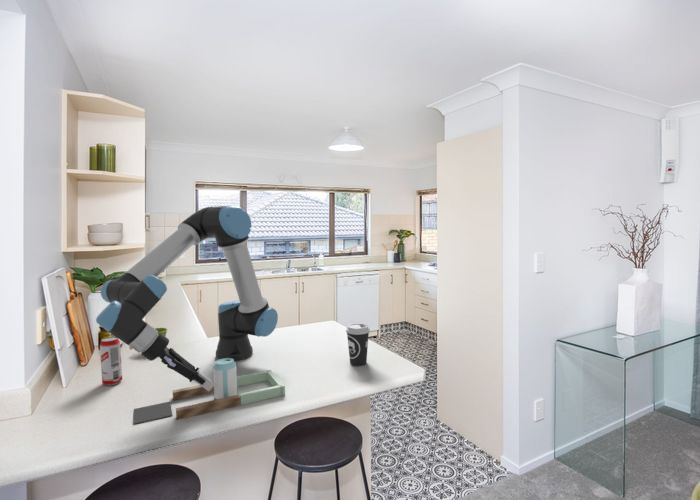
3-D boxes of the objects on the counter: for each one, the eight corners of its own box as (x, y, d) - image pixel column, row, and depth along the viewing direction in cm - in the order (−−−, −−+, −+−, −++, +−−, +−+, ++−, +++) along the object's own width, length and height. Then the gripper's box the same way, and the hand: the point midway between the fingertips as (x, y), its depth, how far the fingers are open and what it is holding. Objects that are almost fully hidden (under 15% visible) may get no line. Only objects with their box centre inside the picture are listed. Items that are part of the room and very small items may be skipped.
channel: (176, 419, 113) (176, 411, 113) (172, 397, 127) (172, 390, 127) (240, 405, 122) (239, 397, 122) (229, 386, 136) (229, 379, 136)
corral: (240, 404, 122) (240, 395, 122) (230, 386, 136) (230, 377, 136) (285, 394, 128) (284, 385, 128) (270, 377, 143) (270, 369, 142)
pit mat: (133, 424, 111) (133, 423, 111) (134, 409, 120) (134, 408, 120) (172, 415, 116) (172, 414, 116) (170, 402, 124) (170, 401, 124)
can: (215, 393, 130) (213, 358, 129) (237, 391, 132) (236, 356, 131) (213, 403, 123) (212, 365, 122) (237, 400, 125) (235, 363, 124)
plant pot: (148, 354, 170) (147, 334, 170) (142, 349, 177) (141, 330, 177) (171, 349, 176) (170, 330, 176) (164, 344, 184) (163, 326, 183)
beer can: (107, 387, 136) (105, 342, 135) (98, 384, 139) (95, 339, 138) (126, 381, 141) (123, 337, 140) (116, 378, 145) (114, 335, 144)
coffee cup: (368, 368, 150) (367, 329, 149) (343, 366, 152) (343, 328, 151) (371, 359, 160) (371, 323, 159) (348, 358, 162) (348, 322, 161)
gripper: (140, 346, 120) (200, 389, 128) (139, 360, 108) (205, 405, 117) (158, 327, 122) (216, 370, 130) (160, 338, 110) (223, 384, 119)
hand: (211, 387), depth 124 cm, fingers closed
